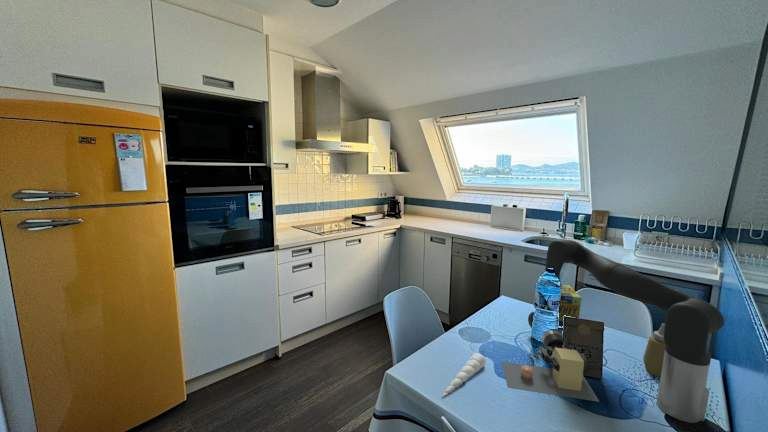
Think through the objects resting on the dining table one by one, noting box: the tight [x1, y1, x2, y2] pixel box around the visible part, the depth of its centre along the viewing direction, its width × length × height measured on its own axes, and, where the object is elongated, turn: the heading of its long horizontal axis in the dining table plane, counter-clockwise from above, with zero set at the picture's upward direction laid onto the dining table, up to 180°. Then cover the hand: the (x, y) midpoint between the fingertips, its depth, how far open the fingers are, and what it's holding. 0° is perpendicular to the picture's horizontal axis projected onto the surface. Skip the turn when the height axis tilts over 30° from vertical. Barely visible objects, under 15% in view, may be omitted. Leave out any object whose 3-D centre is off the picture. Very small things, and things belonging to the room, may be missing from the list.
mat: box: [501, 361, 601, 403], centre depth 103 cm, size 26×14×1 cm, turn 77°
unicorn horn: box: [441, 352, 486, 398], centre depth 103 cm, size 5×24×5 cm, turn 132°
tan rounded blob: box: [521, 364, 533, 380], centre depth 104 cm, size 4×4×3 cm
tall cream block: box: [552, 348, 584, 391], centre depth 101 cm, size 6×6×10 cm
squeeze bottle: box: [642, 323, 666, 378], centre depth 107 cm, size 8×8×18 cm
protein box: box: [559, 284, 582, 327], centre depth 144 cm, size 10×15×16 cm
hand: (570, 370), depth 99 cm, fingers closed on tall cream block, 6 cm apart
